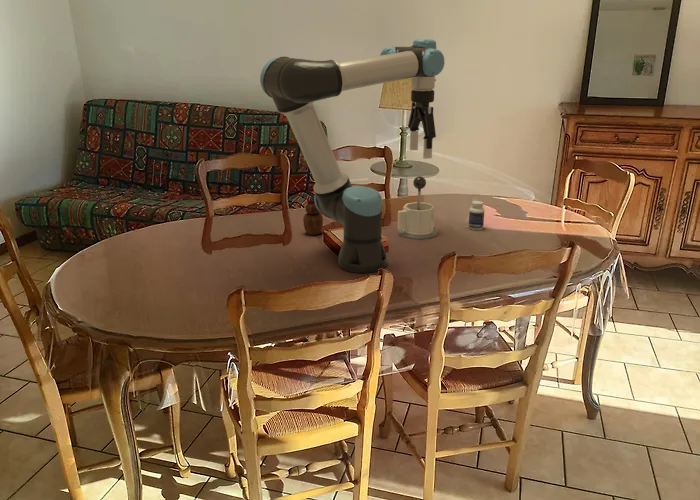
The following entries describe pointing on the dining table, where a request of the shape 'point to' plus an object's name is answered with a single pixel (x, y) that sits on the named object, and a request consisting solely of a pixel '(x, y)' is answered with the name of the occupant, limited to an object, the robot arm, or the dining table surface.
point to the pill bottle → (476, 216)
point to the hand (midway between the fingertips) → (420, 154)
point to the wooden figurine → (312, 218)
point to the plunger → (419, 188)
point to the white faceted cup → (417, 221)
